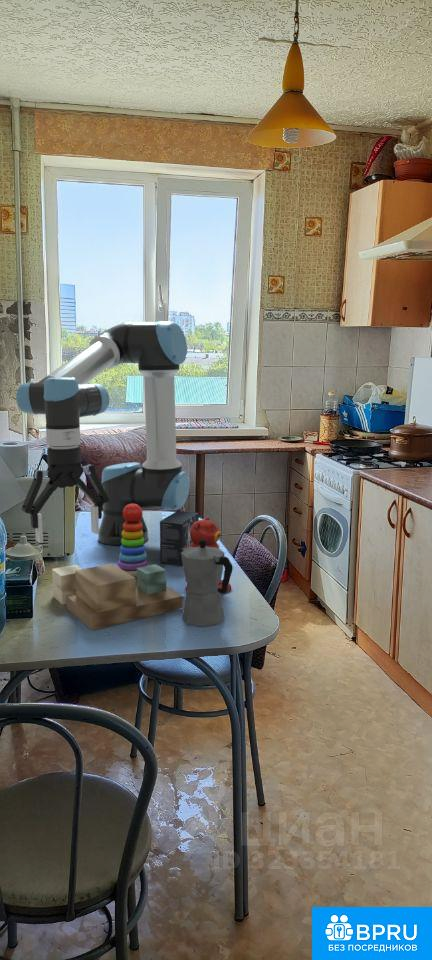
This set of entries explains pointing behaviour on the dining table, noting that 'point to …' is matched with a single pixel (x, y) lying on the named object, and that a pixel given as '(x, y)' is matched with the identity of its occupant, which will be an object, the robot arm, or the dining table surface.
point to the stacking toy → (132, 541)
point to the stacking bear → (207, 532)
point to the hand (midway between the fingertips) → (68, 537)
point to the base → (128, 611)
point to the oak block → (64, 582)
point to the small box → (175, 536)
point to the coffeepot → (204, 584)
